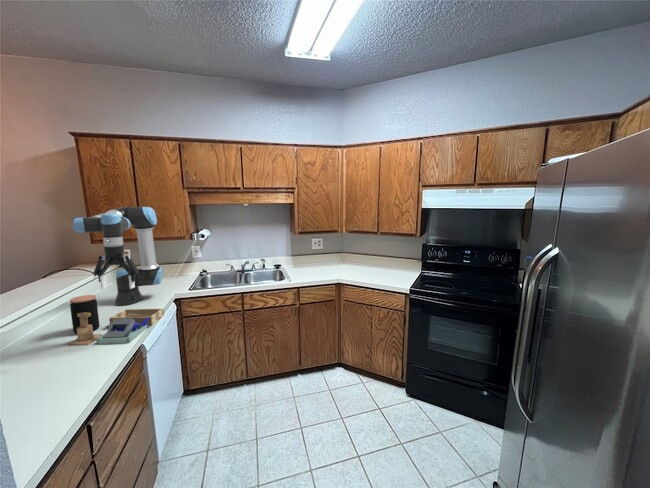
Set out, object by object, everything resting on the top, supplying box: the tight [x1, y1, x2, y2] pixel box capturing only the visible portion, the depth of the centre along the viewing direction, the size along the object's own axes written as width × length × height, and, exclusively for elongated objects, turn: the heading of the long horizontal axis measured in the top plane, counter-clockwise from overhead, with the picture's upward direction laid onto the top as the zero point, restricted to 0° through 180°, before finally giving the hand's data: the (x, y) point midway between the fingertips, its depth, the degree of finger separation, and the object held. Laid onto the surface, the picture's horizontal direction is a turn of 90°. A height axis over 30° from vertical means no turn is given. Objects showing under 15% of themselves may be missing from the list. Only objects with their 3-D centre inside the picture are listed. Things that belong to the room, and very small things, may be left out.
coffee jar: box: [69, 294, 100, 335], centre depth 145 cm, size 11×11×18 cm
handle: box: [68, 312, 103, 346], centre depth 134 cm, size 9×9×14 cm
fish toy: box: [115, 318, 150, 331], centre depth 144 cm, size 15×8×7 cm, turn 117°
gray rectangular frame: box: [104, 317, 135, 338], centre depth 137 cm, size 9×12×3 cm
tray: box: [95, 325, 149, 345], centre depth 140 cm, size 16×15×2 cm
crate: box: [109, 308, 165, 327], centre depth 155 cm, size 13×22×6 cm, turn 93°
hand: (118, 288), depth 136 cm, fingers open, 13 cm apart
